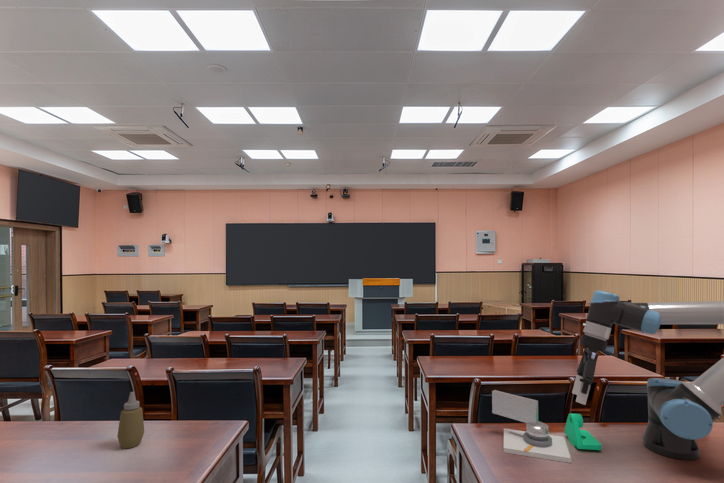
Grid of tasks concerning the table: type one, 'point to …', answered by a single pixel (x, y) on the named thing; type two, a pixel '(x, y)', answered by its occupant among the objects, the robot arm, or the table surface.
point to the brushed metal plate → (520, 413)
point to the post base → (536, 446)
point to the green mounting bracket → (580, 434)
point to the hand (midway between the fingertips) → (578, 398)
